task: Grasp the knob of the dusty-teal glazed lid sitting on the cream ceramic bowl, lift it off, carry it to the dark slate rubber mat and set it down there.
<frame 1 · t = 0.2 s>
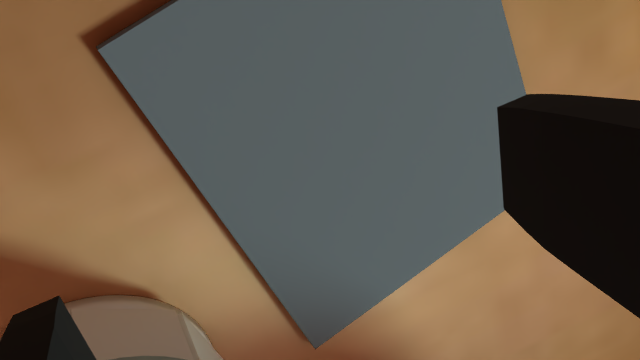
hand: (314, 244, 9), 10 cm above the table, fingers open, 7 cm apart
mat: (368, 124, 21), on the table
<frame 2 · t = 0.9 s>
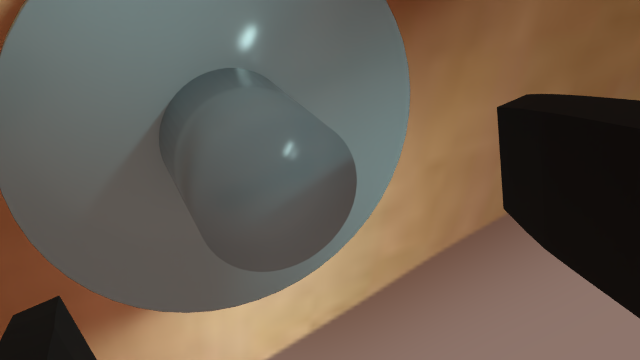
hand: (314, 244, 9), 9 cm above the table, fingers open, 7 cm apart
lid: (221, 126, 14), point 4 cm above the table, touching bowl
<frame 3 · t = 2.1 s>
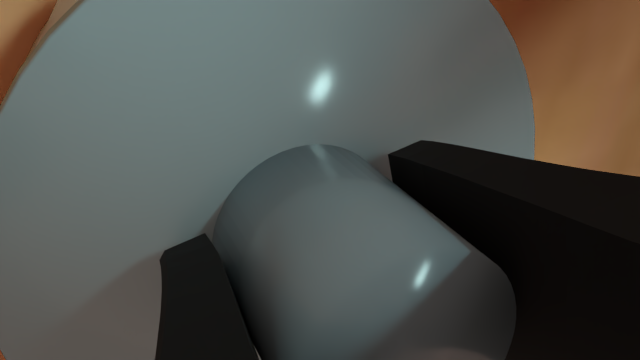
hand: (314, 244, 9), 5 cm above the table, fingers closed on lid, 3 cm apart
bowl: (228, 140, 13), on the table
lid: (290, 215, 10), point 4 cm above the table, touching bowl, gripper
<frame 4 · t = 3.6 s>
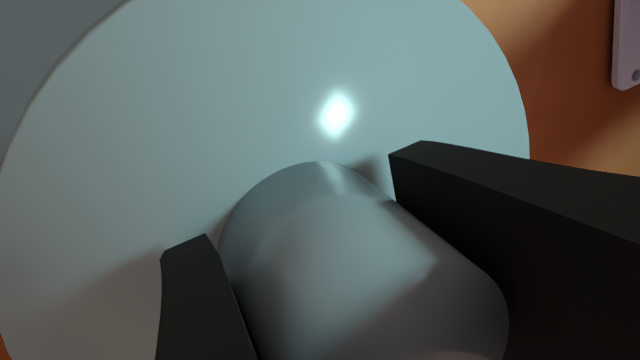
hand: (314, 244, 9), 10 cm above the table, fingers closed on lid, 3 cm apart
mat: (171, 69, 18), on the table
lid: (292, 230, 10), point 9 cm above the table, touching gripper
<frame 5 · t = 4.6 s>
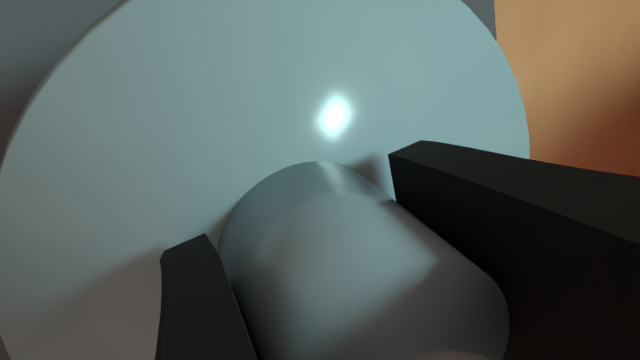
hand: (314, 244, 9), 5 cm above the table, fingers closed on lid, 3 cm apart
mat: (226, 134, 13), on the table
lid: (292, 230, 10), point 4 cm above the table, touching gripper
when the fingers open (3 cm above the table, at t = 5.3 s): lid drops 1 cm, resting on mat.
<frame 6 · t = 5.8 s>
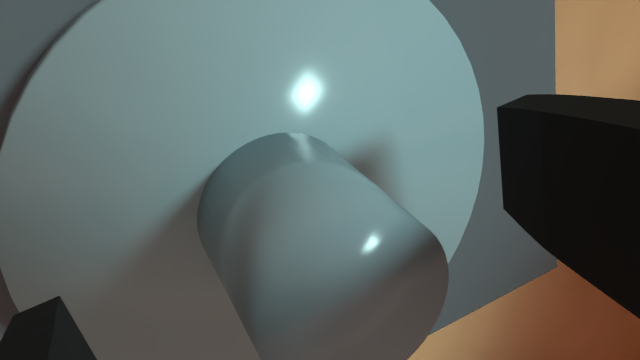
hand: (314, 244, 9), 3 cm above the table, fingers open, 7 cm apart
mat: (254, 171, 12), on the table
lid: (267, 195, 12), resting on mat
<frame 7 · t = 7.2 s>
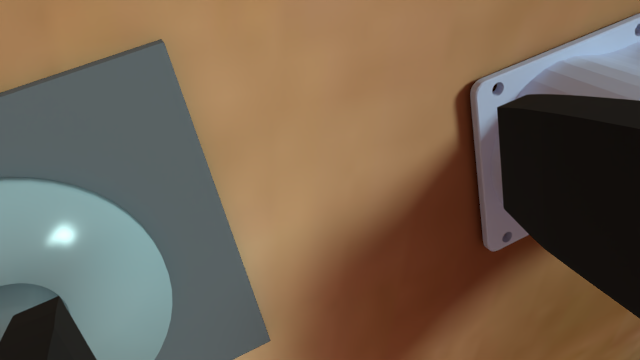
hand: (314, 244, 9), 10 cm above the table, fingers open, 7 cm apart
mat: (9, 298, 19), on the table
lid: (16, 314, 18), resting on mat
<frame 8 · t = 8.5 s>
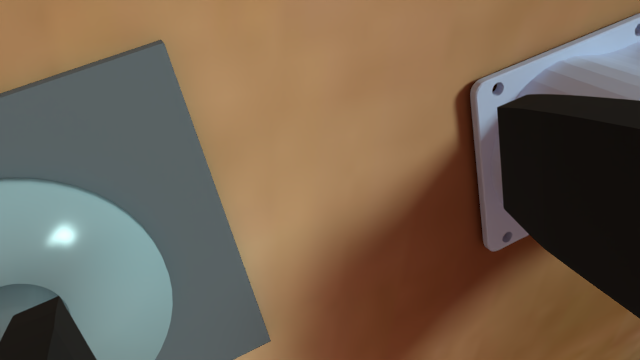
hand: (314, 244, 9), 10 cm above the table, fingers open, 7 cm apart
mat: (9, 299, 19), on the table
lid: (16, 315, 18), resting on mat
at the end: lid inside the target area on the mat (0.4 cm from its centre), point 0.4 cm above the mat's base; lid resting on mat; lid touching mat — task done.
